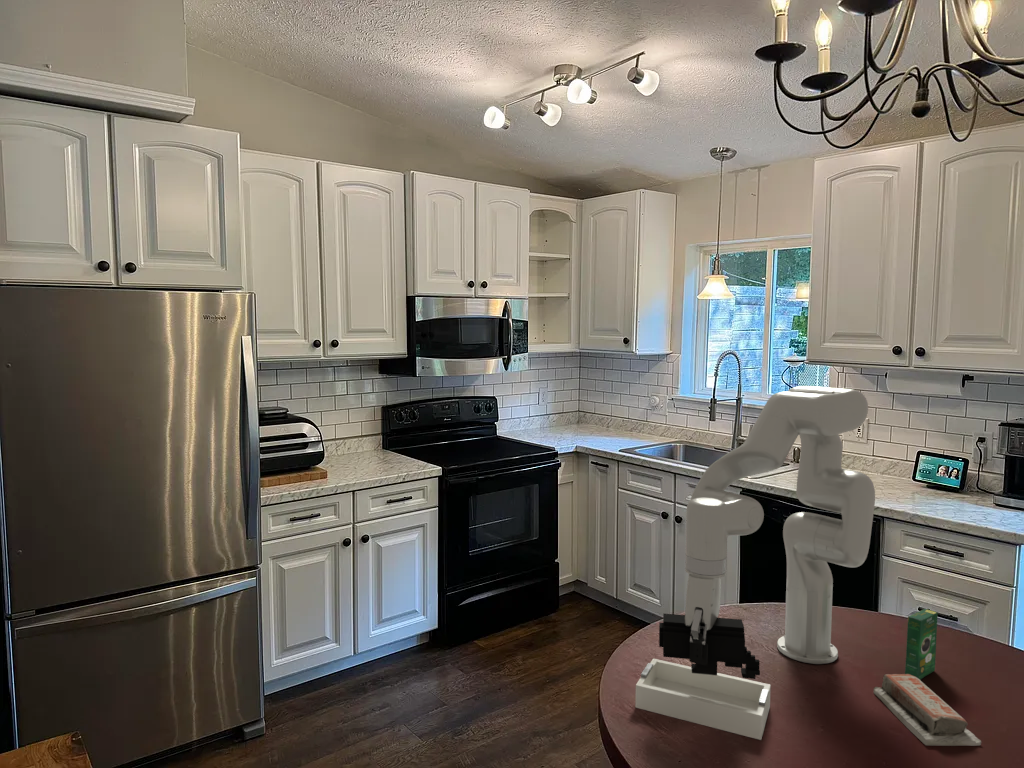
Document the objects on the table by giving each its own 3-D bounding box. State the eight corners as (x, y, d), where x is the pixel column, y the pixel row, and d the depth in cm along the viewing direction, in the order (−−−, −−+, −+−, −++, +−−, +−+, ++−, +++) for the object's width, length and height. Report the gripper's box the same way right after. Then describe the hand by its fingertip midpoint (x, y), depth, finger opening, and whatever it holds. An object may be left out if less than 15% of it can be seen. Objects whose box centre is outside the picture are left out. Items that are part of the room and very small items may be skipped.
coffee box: (921, 665, 148) (924, 606, 147) (936, 671, 146) (939, 611, 145) (903, 676, 144) (906, 616, 143) (918, 682, 141) (921, 620, 140)
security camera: (761, 685, 126) (762, 632, 125) (659, 675, 130) (659, 624, 129) (756, 667, 133) (757, 617, 132) (658, 658, 137) (659, 610, 136)
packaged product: (872, 670, 137) (921, 670, 137) (871, 694, 138) (920, 694, 138) (926, 721, 119) (983, 722, 119) (925, 748, 120) (982, 748, 120)
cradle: (652, 679, 143) (653, 655, 142) (770, 707, 132) (770, 681, 132) (635, 707, 132) (635, 681, 132) (761, 740, 122) (762, 712, 121)
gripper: (695, 548, 139) (693, 631, 141) (674, 575, 124) (672, 668, 125) (734, 554, 136) (731, 639, 137) (716, 582, 120) (714, 678, 122)
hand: (703, 652), depth 131 cm, fingers closed on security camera, 8 cm apart
